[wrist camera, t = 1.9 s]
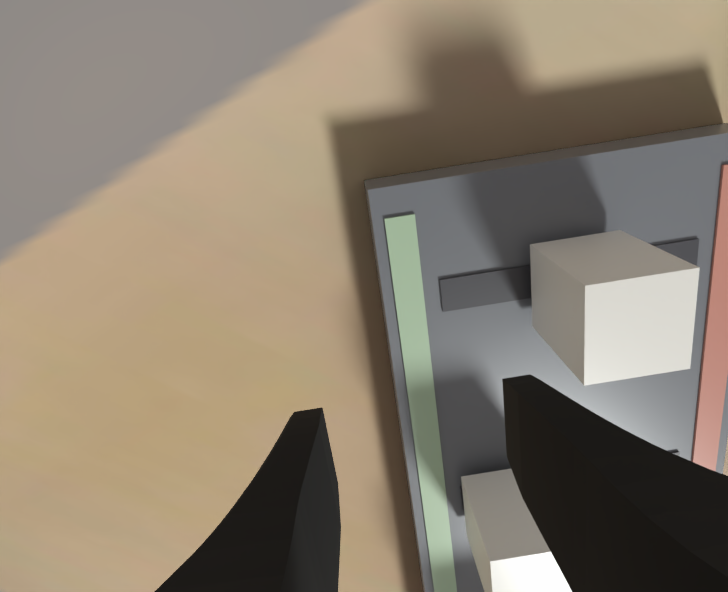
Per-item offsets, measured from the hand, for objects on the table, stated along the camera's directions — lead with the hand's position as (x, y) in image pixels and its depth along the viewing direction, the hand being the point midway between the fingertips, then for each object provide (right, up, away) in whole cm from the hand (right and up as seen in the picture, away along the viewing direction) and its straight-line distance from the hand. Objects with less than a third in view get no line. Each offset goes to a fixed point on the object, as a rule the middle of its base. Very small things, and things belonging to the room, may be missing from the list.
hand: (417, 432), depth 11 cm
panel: (+7, -4, +12) cm, 15 cm away
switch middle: (+4, -5, +10) cm, 12 cm away
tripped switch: (+6, +4, +6) cm, 9 cm away
